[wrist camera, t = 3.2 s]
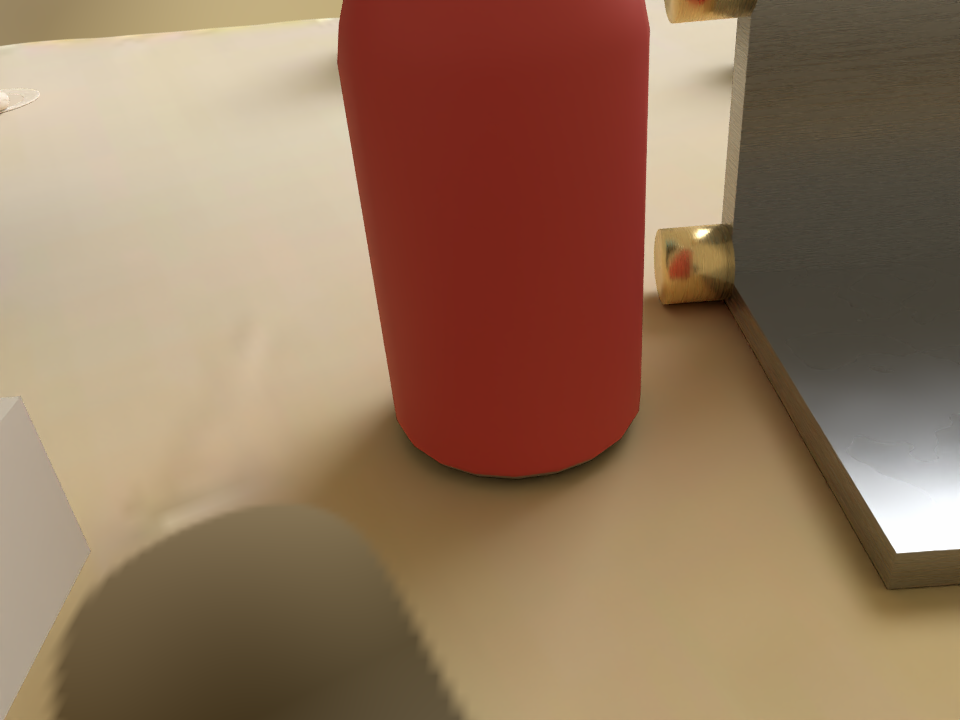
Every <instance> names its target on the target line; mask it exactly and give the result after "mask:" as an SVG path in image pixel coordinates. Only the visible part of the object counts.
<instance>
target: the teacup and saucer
mask: <svg viewBox="0 0 960 720" xmlns="http://www.w3.org/2000/svg"><path fill="white" fill-rule="evenodd" d="M7 94H16V95H21V96H23V100H22V101H21V102H19V103H17V104H15V105H13V106H10V107H8V106H9V101H10V100H9V97H8V96H7ZM39 96H40V93H39V92H38V91H36V90H33V89H25V88H13V89H0V113H3V112H7V111H10V110H13V109H16V108H19V107H22V106H24V105H27V104H29V103H31V102H33V101H34V100H36V99H37V98H38V97H39Z"/></svg>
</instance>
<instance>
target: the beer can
mask: <svg viewBox="0 0 960 720" xmlns="http://www.w3.org/2000/svg"><path fill="white" fill-rule="evenodd" d="M649 38H650V27H649V22H648V16H647V11H646V5H645V0H343V4H342V10H341V15H340V21H339V33H338V59H337V64H338V70H339V76H340V82H341V88H342V94H343V100H344V106H345V112H346V118H347V124H348V130H349V136H350V142H351V148H352V154H353V160H354V166H355V172H356V178H357V184H358V190H359V196H360V202H361V208H362V214H363V220H364V226H365V232H366V238H367V244H368V250H369V256H370V262H371V268H372V274H373V280H374V286H375V292H376V298H377V304H378V310H379V316H380V322H381V328H382V334H383V340H384V346H385V352H386V358H387V364H388V370H389V376H390V382H391V388H392V394H393V400H394V406H395V412H396V418H397V421H398V422H399V424H400V426H401V427H402V429H403V430H404V432H405V433H406V435H407V436H408V438H409V439H410V441H411V442H412V443H413V445H414V446H415V447H417V448H418V449H420V450H421V451H423V452H424V453H426V454H427V455H429V456H430V457H432V458H433V459H435V460H436V461H438V462H439V463H441V464H442V465H444V466H447V467H450V468H453V469H457V470H460V471H463V472H466V473H470V474H473V475H476V476H483V477H497V478H511V479H520V478H527V477H534V476H542V475H549V474H556V473H559V472H561V471H564V470H567V469H569V468H572V467H575V466H578V465H580V464H583V463H586V462H588V461H591V460H592V459H593V458H595V457H596V456H598V455H599V454H600V453H602V452H603V451H605V450H606V449H607V448H609V447H610V446H612V445H613V444H614V443H616V442H617V441H618V440H620V439H621V438H622V436H623V435H624V433H625V432H626V430H627V429H628V427H629V425H630V424H631V422H632V421H633V419H634V418H635V416H636V415H637V413H638V411H639V404H640V391H641V357H642V317H643V277H644V238H645V198H646V158H647V118H648V78H649Z"/></svg>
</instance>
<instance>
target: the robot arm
mask: <svg viewBox="0 0 960 720" xmlns="http://www.w3.org/2000/svg"><path fill="white" fill-rule="evenodd" d="M90 552H91V550H90V548H89V546H88V544H87V542H86V539H85V537H84V535H83V533H82V531H81V528H80V526H79V524H78V522H77V520H76V517H75V515H74V513H73V511H72V509H71V506H70V504H69V502H68V500H67V497H66V495H65V493H64V491H63V489H62V486H61V484H60V482H59V480H58V478H57V475H56V473H55V471H54V469H53V467H52V464H51V462H50V460H49V458H48V456H47V453H46V451H45V449H44V447H43V445H42V442H41V440H40V438H39V436H38V434H37V431H36V429H35V427H34V425H33V423H32V420H31V418H30V416H29V414H28V412H27V409H26V407H25V405H24V403H23V401H22V398H21V396H17V397H5V398H0V720H4V719H5V717H6V715H7V713H8V711H9V709H10V707H11V705H12V703H13V701H14V699H15V698H16V696H17V694H18V692H19V690H20V688H21V686H22V684H23V682H24V680H25V678H26V676H27V674H28V672H29V670H30V668H31V666H32V664H33V662H34V661H35V659H36V657H37V655H38V653H39V651H40V649H41V647H42V645H43V643H44V641H45V639H46V637H47V635H48V633H49V631H50V629H51V627H52V626H53V624H54V622H55V620H56V618H57V616H58V614H59V612H60V610H61V608H62V606H63V604H64V602H65V600H66V598H67V596H68V594H69V592H70V591H71V589H72V587H73V585H74V583H75V581H76V579H77V577H78V575H79V573H80V571H81V569H82V567H83V565H84V563H85V561H86V559H87V557H88V555H89V554H90Z"/></svg>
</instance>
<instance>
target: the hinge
mask: <svg viewBox="0 0 960 720" xmlns="http://www.w3.org/2000/svg"><path fill="white" fill-rule="evenodd" d="M664 1H665V8H666V13H667V17H668V19H669V21H670V22H671V23H683V22H694V21H705V20H716V19H727V18H738V20H737V32H736V45H735V58H734V71H733V84H732V97H731V110H730V122H729V135H728V148H727V161H726V174H725V187H724V200H723V212H722V224H715V225H703V226H691V227H679V228H667V229H659V230H658V231H657V233H656V237H655V245H654V269H655V279H656V286H657V291H658V295H659V298H660V300H661V302H662V304H674V303H686V302H699V301H711V300H723V299H724V300H725V302H726V304H727V306H728V307H729V309H730V311H731V313H732V314H733V316H734V318H735V320H736V321H737V323H738V325H739V327H740V329H741V330H742V332H743V334H744V336H745V337H746V339H747V341H748V343H749V345H750V346H751V348H752V350H753V352H754V353H755V355H756V357H757V359H758V360H759V362H760V364H761V366H762V368H763V369H764V371H765V373H766V375H767V376H768V378H769V380H770V382H771V383H772V385H773V387H774V389H775V391H776V392H777V394H778V396H779V398H780V399H781V401H782V403H783V405H784V407H785V408H786V410H787V412H788V414H789V415H790V417H791V419H792V421H793V422H794V424H795V426H796V428H797V430H798V431H799V433H800V435H801V437H802V438H803V440H804V442H805V444H806V445H807V447H808V449H809V451H810V453H811V454H812V456H813V458H814V460H815V461H816V463H817V465H818V467H819V469H820V470H821V472H822V474H823V476H824V477H825V479H826V481H827V483H828V484H829V486H830V488H831V490H832V492H833V493H834V495H835V497H836V499H837V500H838V502H839V504H840V506H841V507H842V509H843V511H844V513H845V515H846V516H847V518H848V520H849V522H850V523H851V525H852V527H853V529H854V531H855V532H856V534H857V536H858V538H859V539H860V541H861V543H862V545H863V546H864V548H865V550H866V552H867V554H868V555H869V557H870V559H871V561H872V562H873V564H874V566H875V568H876V569H877V571H878V573H879V575H880V577H881V578H882V580H883V582H884V584H885V585H886V587H887V589H897V588H911V587H925V586H939V585H952V584H960V0H664Z"/></svg>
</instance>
